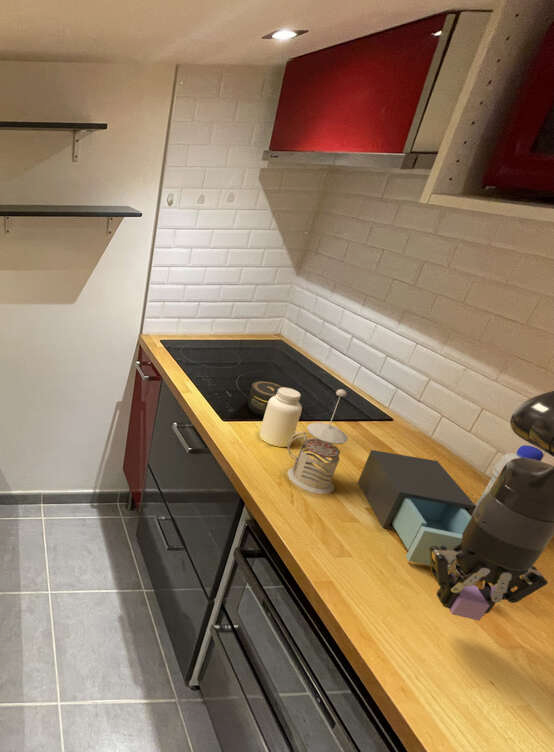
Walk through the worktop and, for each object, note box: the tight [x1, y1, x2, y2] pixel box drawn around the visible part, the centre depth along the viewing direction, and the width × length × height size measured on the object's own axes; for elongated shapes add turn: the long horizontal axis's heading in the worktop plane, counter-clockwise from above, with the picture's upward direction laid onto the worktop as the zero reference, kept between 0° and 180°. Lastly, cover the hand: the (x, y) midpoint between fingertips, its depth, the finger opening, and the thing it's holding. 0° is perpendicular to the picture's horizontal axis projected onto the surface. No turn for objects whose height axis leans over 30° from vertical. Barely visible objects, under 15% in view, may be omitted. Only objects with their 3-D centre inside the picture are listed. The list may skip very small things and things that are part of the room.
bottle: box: [471, 444, 544, 517], centre depth 92 cm, size 7×7×20 cm
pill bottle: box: [259, 387, 303, 448], centre depth 120 cm, size 8×8×15 cm
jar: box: [247, 380, 285, 418], centre depth 136 cm, size 10×10×8 cm
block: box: [447, 584, 490, 622], centre depth 71 cm, size 4×4×4 cm
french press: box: [286, 388, 349, 495], centre depth 103 cm, size 10×12×25 cm
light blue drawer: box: [391, 496, 472, 571], centre depth 86 cm, size 19×12×8 cm, turn 163°
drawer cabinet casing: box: [357, 449, 476, 531], centre depth 97 cm, size 15×13×10 cm
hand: (460, 606), depth 71 cm, fingers closed on block, 3 cm apart
